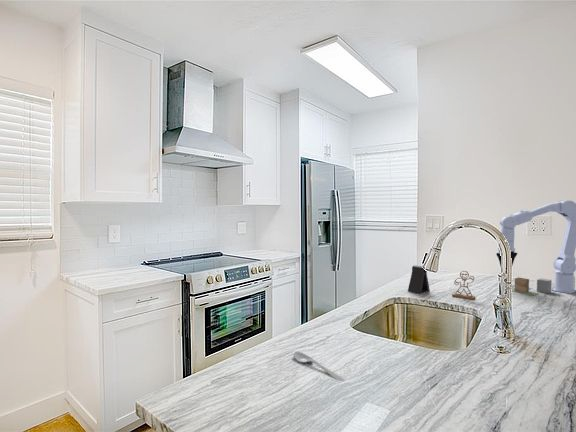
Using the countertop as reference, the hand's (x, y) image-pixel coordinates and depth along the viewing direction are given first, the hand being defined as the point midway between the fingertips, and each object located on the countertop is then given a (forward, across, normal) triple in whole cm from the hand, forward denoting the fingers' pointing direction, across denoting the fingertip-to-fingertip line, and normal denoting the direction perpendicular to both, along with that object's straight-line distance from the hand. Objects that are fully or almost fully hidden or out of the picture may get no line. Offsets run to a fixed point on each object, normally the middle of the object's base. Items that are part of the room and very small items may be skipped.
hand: (506, 267), depth 181 cm
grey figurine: (+10, +39, -2) cm, 40 cm away
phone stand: (+10, +46, -20) cm, 51 cm away
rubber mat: (+10, +5, +9) cm, 15 cm away
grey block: (+10, -4, +15) cm, 19 cm away
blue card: (+10, -3, +5) cm, 12 cm away
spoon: (+11, +138, +12) cm, 139 cm away
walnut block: (+10, +5, +9) cm, 14 cm away
